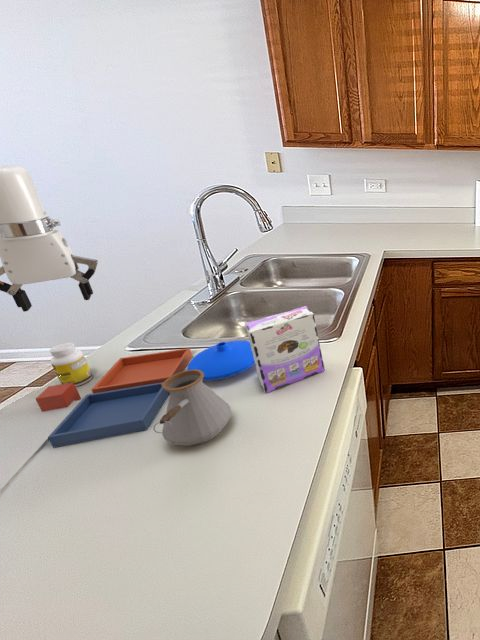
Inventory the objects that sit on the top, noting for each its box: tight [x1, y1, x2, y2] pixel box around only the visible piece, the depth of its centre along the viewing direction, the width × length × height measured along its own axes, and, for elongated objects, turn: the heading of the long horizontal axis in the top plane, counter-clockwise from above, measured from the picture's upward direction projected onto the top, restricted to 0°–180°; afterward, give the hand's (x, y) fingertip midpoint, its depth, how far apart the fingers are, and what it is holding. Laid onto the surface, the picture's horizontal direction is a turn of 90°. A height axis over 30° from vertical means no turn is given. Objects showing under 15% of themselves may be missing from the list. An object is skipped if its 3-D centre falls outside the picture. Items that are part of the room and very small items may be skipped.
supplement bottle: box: [49, 342, 94, 388], centre depth 93 cm, size 5×5×10 cm
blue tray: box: [47, 382, 170, 449], centre depth 84 cm, size 15×13×3 cm
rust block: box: [35, 383, 82, 412], centre depth 86 cm, size 4×4×4 cm
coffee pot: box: [153, 369, 232, 447], centre depth 73 cm, size 21×12×15 cm, turn 25°
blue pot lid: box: [187, 340, 255, 381], centre depth 99 cm, size 16×16×7 cm
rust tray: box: [91, 347, 193, 394], centre depth 97 cm, size 15×13×3 cm
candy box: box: [244, 305, 325, 394], centre depth 94 cm, size 14×6×16 cm, turn 130°
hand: (58, 303), depth 88 cm, fingers open, 9 cm apart
